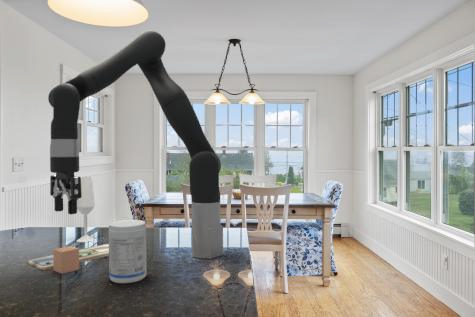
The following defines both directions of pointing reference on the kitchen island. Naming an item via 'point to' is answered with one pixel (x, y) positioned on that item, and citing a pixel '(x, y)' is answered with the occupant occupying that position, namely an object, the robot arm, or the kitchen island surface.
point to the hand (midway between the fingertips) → (65, 212)
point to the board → (84, 255)
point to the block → (66, 259)
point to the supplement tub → (127, 251)
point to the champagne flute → (86, 204)
